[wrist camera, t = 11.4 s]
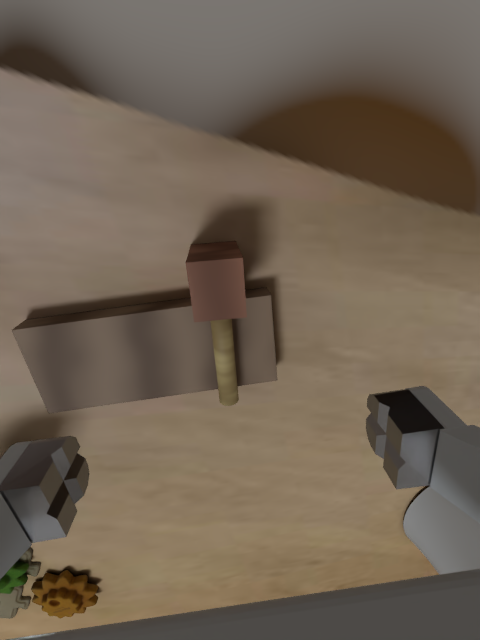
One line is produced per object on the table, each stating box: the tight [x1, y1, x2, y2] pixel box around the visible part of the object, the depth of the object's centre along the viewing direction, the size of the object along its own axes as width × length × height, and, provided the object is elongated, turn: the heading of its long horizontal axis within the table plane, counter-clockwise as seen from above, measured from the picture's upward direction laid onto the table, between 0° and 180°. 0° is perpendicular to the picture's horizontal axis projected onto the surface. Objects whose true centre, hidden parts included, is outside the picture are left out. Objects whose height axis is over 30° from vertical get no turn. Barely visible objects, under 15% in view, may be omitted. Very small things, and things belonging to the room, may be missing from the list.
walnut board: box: [12, 287, 277, 413], centre depth 27 cm, size 20×8×2 cm, turn 96°
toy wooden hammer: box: [186, 241, 247, 406], centre depth 25 cm, size 4×13×6 cm, turn 4°
